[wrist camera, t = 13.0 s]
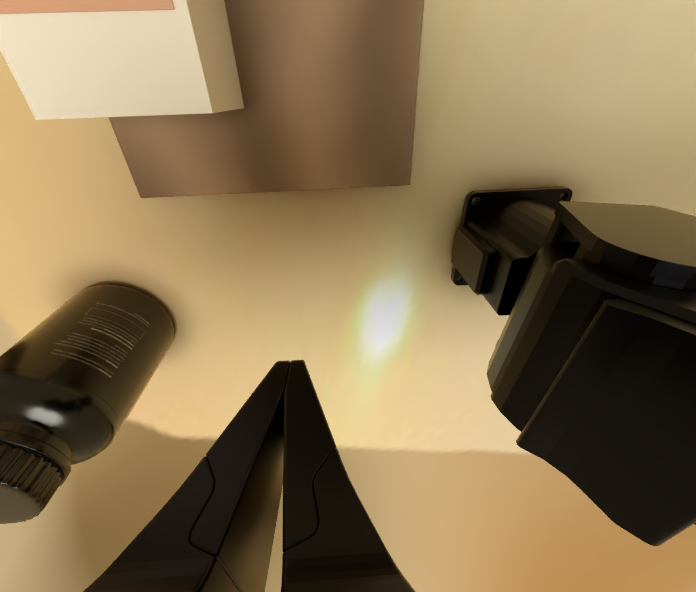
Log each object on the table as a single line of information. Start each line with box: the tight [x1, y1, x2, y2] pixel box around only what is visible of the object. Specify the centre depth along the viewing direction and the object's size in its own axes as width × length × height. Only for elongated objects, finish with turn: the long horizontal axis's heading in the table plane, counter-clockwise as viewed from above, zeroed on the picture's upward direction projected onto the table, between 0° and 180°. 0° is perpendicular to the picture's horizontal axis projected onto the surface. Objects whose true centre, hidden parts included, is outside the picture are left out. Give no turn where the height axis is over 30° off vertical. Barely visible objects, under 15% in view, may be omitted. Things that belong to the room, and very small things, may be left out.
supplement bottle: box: [0, 284, 174, 524], centre depth 18 cm, size 7×7×12 cm
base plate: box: [109, 0, 424, 198], centre depth 14 cm, size 15×14×1 cm
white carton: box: [0, 0, 244, 120], centre depth 11 cm, size 6×6×5 cm
